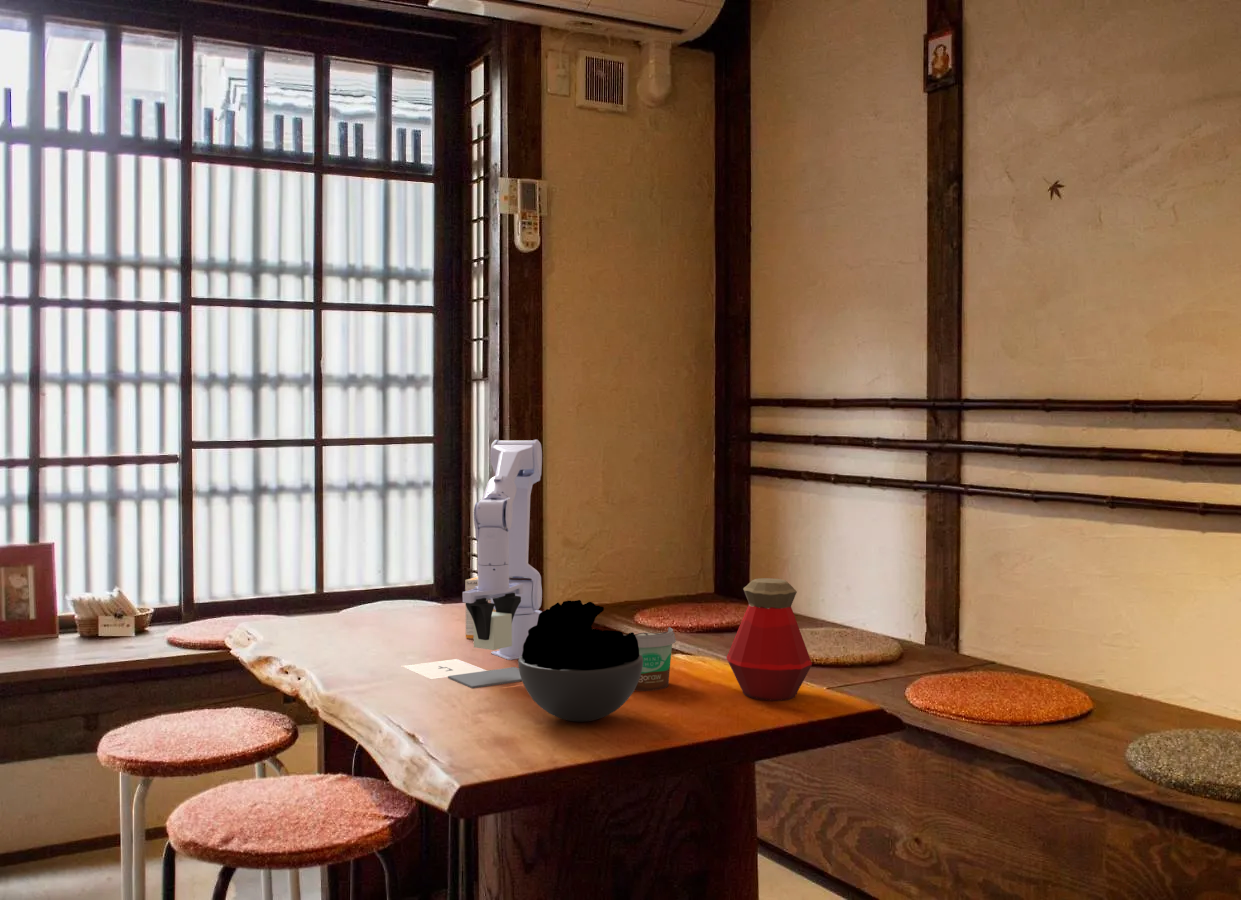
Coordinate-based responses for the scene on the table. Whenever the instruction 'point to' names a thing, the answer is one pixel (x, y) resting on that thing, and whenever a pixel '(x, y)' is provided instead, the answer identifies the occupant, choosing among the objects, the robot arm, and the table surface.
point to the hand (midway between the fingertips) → (493, 637)
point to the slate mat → (488, 677)
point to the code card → (443, 668)
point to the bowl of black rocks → (578, 663)
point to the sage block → (496, 632)
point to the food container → (655, 659)
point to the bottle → (769, 643)
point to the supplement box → (469, 585)
